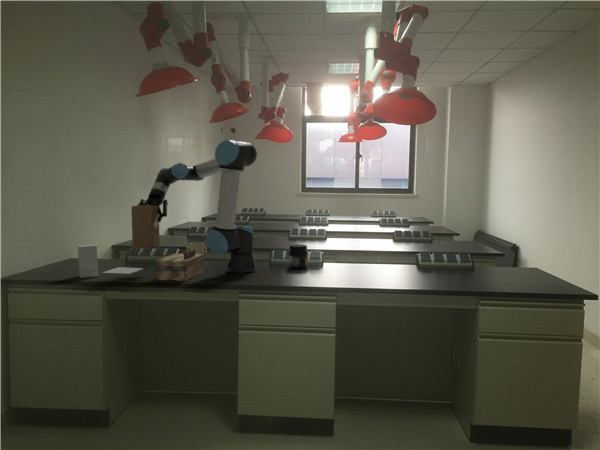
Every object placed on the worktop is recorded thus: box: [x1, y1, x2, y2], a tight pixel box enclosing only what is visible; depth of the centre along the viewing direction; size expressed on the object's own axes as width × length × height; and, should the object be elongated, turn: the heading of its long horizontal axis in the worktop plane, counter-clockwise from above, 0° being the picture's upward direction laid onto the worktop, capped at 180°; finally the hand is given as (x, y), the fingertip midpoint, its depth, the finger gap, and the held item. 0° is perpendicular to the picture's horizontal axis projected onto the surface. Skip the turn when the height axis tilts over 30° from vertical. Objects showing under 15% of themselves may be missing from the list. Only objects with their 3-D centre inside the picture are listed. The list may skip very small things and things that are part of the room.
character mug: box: [186, 241, 208, 255], centre depth 240 cm, size 11×7×13 cm, turn 85°
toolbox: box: [156, 257, 204, 282], centre depth 218 cm, size 14×21×8 cm
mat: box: [102, 266, 144, 275], centre depth 229 cm, size 14×14×1 cm
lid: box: [155, 249, 204, 264], centre depth 217 cm, size 15×21×4 cm
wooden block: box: [130, 205, 161, 249], centre depth 222 cm, size 10×10×20 cm
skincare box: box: [77, 243, 99, 279], centre depth 215 cm, size 8×6×15 cm
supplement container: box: [287, 244, 309, 271], centre depth 242 cm, size 10×10×12 cm
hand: (143, 226), depth 220 cm, fingers closed on wooden block, 10 cm apart
